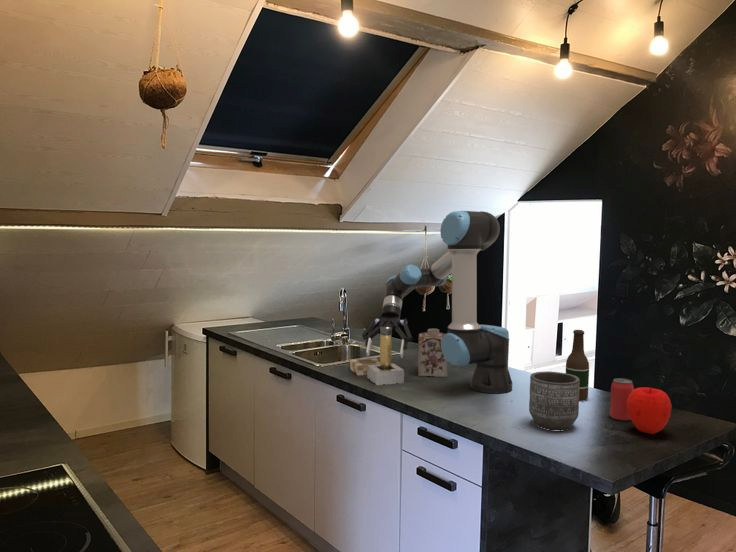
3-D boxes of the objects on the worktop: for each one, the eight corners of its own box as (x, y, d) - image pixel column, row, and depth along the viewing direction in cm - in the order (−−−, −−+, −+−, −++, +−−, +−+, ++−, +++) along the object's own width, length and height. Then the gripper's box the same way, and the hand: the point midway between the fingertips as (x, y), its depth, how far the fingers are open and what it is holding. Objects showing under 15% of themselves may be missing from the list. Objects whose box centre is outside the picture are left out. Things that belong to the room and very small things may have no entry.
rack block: (383, 373, 240) (384, 363, 239) (357, 375, 236) (357, 365, 236) (375, 367, 250) (375, 357, 250) (350, 369, 247) (350, 359, 246)
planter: (519, 425, 179) (521, 376, 178) (543, 415, 189) (545, 368, 188) (563, 437, 169) (565, 386, 168) (586, 426, 179) (588, 377, 178)
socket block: (403, 383, 226) (404, 370, 225) (376, 385, 222) (376, 372, 222) (393, 375, 236) (393, 363, 236) (367, 377, 233) (367, 365, 232)
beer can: (613, 413, 191) (615, 376, 190) (635, 417, 187) (636, 380, 186) (606, 418, 186) (608, 380, 185) (628, 422, 182) (630, 384, 181)
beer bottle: (573, 402, 203) (575, 332, 201) (559, 395, 210) (562, 328, 208) (592, 400, 205) (595, 331, 203) (579, 394, 212) (581, 327, 210)
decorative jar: (446, 370, 246) (447, 327, 244) (447, 377, 234) (448, 332, 233) (417, 369, 247) (418, 326, 246) (417, 376, 236) (418, 331, 234)
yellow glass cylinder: (392, 381, 228) (393, 327, 226) (381, 382, 226) (382, 327, 225) (388, 378, 232) (389, 325, 230) (377, 379, 231) (378, 325, 229)
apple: (627, 437, 170) (629, 391, 169) (622, 423, 181) (625, 380, 180) (673, 441, 167) (675, 395, 165) (665, 428, 178) (668, 384, 177)
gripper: (422, 316, 240) (417, 361, 226) (363, 313, 245) (354, 358, 231) (421, 305, 234) (415, 351, 221) (360, 302, 239) (351, 347, 226)
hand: (384, 354), depth 226 cm, fingers open, 12 cm apart
